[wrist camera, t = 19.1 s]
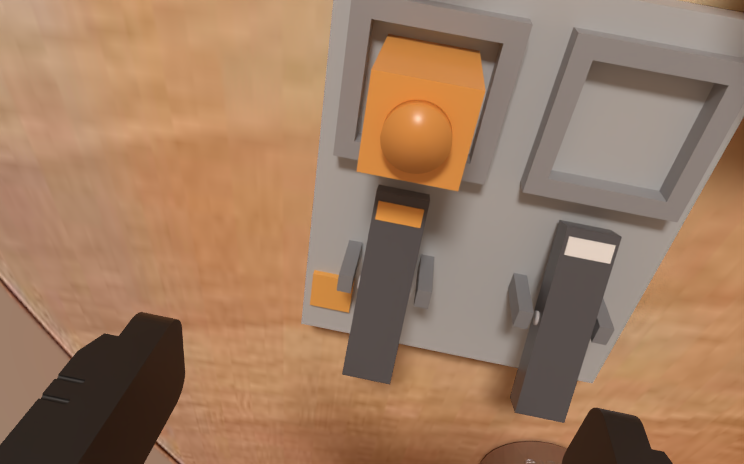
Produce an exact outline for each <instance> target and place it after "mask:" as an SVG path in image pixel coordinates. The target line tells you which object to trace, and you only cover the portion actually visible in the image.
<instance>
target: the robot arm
mask: <svg viewBox="0 0 744 464" xmlns="http://www.w3.org/2000/svg"><path fill="white" fill-rule="evenodd" d="M184 378H185V364H184V350H183V336H182V325H181V322H180V321H179V320H177V319H173V318H168V317H163V316H158V315H153V314H148V313H144V312H140V313H138V314H136V315H135V316H134V317H133V318H132V319H131V321H130V322H129V323H128V325H127V326H126V327H125V329H124V330H123V331H122V333H121V334H120V335H119V336H114V335H110V334H103V335H101V336H100V337H98V338H97V339H95V340H94V341H92V342H91V343H89V344H88V345H86V346H85V347H83V348H82V349H80V350H79V351H77V352H76V354H75V355H74V356H73V357H72V359H71V360H70V361H69V362H68V363H67V365H66V366H65V367H64V368H63V370H62V371H61V372H60V373H59V376H58V378H57V379H54V380H53V382H52V383H51V384H50V385H49V387H48V388H47V389H46V390H45V391H44V392H43V396H42V398H41V399H38V400H37V401H36V402H35V403H34V405H33V406H32V407H31V408H30V409H29V411H28V412H27V413H26V414H25V416H24V417H23V418H22V419H21V420H20V422H19V423H18V424H17V425H16V427H15V428H14V429H13V430H12V431H11V432H10V434H9V435H8V436H7V437H6V439H5V440H4V441H3V442H2V443H1V445H0V464H144V462H145V460H146V459H147V456H148V455H149V453H150V451H151V449H152V448H153V446H154V444H155V442H156V440H157V439H158V437H159V435H160V433H161V431H162V429H163V428H164V426H165V424H166V422H167V420H168V418H169V417H170V415H171V413H172V411H173V409H174V407H175V406H176V404H177V402H178V399H179V397H180V394H181V391H182V388H183V384H184ZM481 464H673V463H672V462H671V461H670V459H669V458H668V457H667V455H666V454H665V453H664V452H662V451H657V450H653V449H651V447H650V444H649V441H648V438H647V435H646V432H645V429H644V427H643V424H642V422H641V421H640V419H639V418H638V417H636V416H634V415H629V414H624V413H619V412H615V411H610V410H605V409H600V408H593V409H591V410H590V411H589V413H588V414H587V416H586V418H585V420H584V421H583V423H582V425H581V426H580V428H579V430H578V431H577V433H576V435H575V437H574V438H573V440H572V442H571V443H570V445H569V447H568V448H567V449H565V448H563V447H561V446H558V445H554V444H551V443H544V442H531V441H525V442H517V443H512V444H508V445H504V446H502V447H499V448H497V449H495V450H493V451H492V452H490V453H489V454H488V455H486V457H485V458H484V459H483V460H482V461H481Z"/></svg>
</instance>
